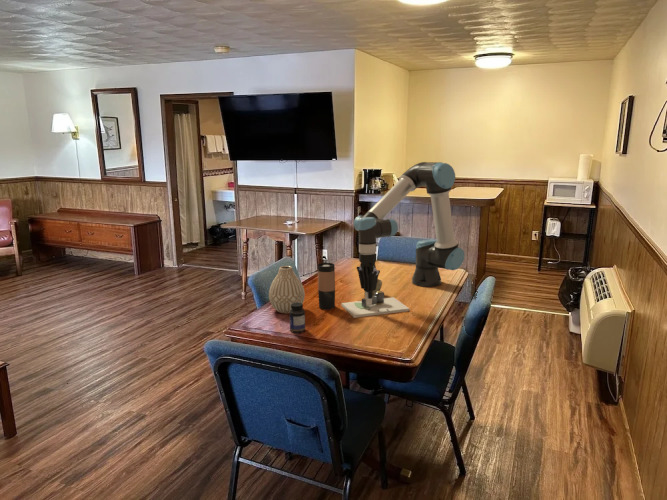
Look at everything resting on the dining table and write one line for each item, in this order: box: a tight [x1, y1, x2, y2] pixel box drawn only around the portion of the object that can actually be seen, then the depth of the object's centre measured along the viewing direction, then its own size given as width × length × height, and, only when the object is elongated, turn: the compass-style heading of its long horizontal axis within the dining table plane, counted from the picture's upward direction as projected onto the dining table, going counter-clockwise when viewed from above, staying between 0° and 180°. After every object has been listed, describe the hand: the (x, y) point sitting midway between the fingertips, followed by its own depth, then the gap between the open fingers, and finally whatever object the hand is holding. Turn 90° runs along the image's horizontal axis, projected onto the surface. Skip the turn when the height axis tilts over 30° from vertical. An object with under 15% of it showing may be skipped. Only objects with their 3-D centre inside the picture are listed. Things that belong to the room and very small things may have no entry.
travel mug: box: [317, 262, 336, 311], centre depth 218 cm, size 8×8×20 cm
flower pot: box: [372, 279, 383, 296], centre depth 236 cm, size 10×10×7 cm
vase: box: [268, 265, 306, 314], centre depth 215 cm, size 16×16×20 cm
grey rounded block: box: [361, 290, 385, 307], centre depth 217 cm, size 12×4×5 cm, turn 129°
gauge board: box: [341, 296, 410, 319], centre depth 218 cm, size 26×17×2 cm, turn 107°
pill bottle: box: [288, 302, 306, 334], centre depth 192 cm, size 6×6×11 cm
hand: (368, 305), depth 214 cm, fingers closed
